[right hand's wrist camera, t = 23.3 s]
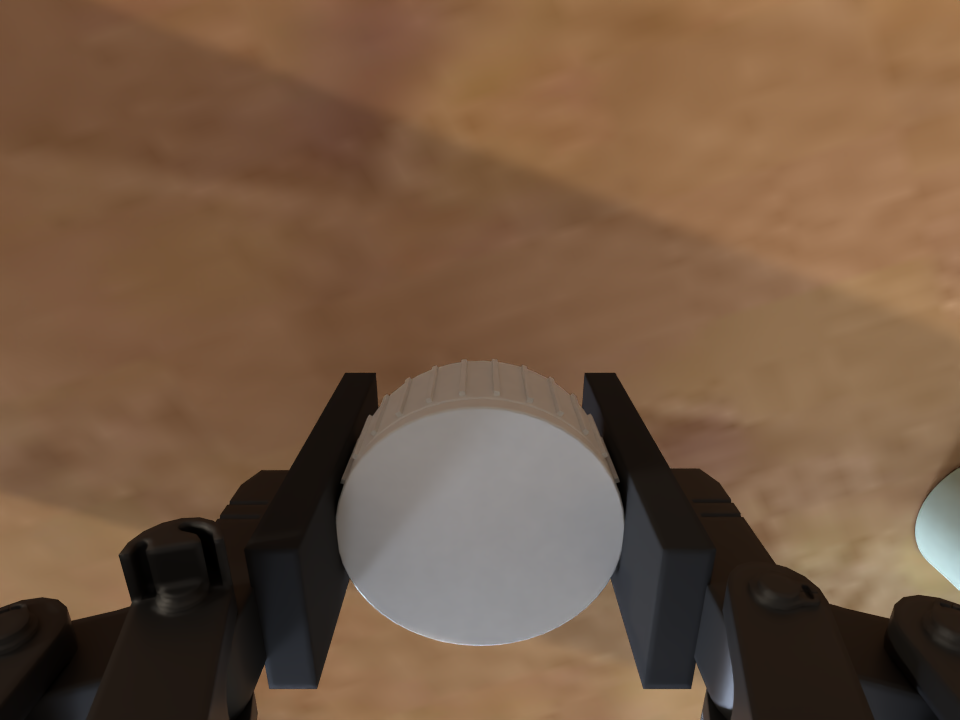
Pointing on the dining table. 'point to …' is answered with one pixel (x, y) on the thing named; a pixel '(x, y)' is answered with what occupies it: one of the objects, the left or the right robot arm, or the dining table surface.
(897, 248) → the dining table surface
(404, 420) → the lid
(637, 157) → the dining table surface
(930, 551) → the bottle
